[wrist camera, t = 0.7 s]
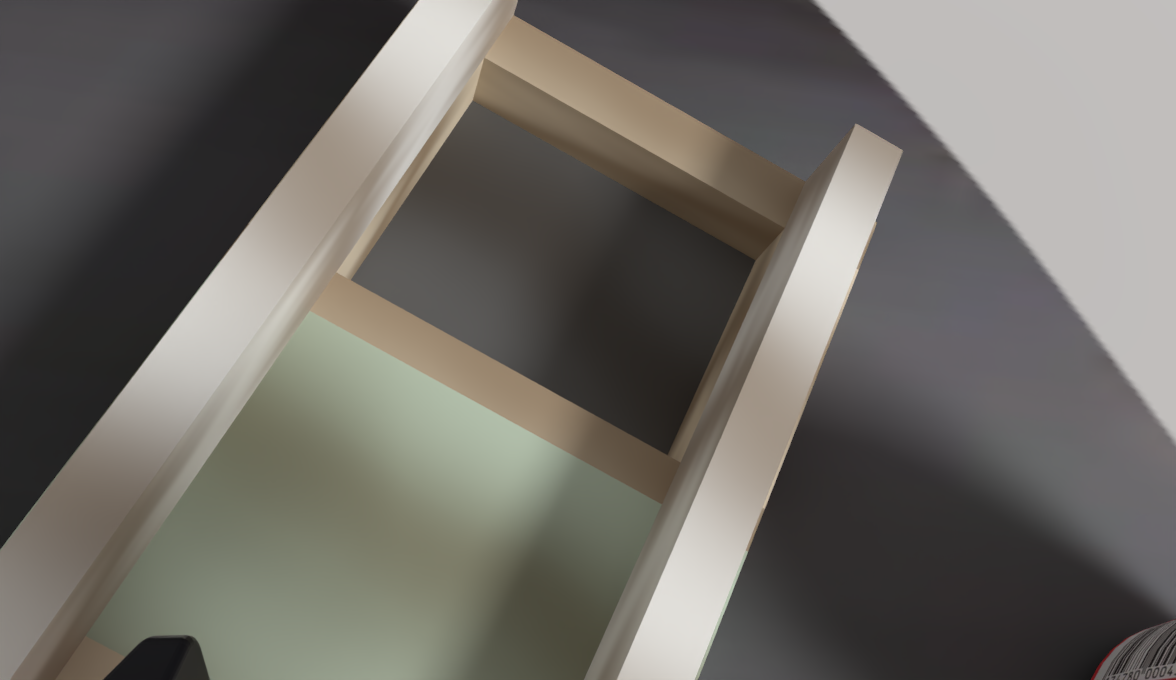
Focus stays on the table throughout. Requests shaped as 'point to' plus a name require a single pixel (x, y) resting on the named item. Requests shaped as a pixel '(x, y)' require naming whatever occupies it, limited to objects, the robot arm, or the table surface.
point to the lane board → (460, 389)
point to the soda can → (1142, 656)
